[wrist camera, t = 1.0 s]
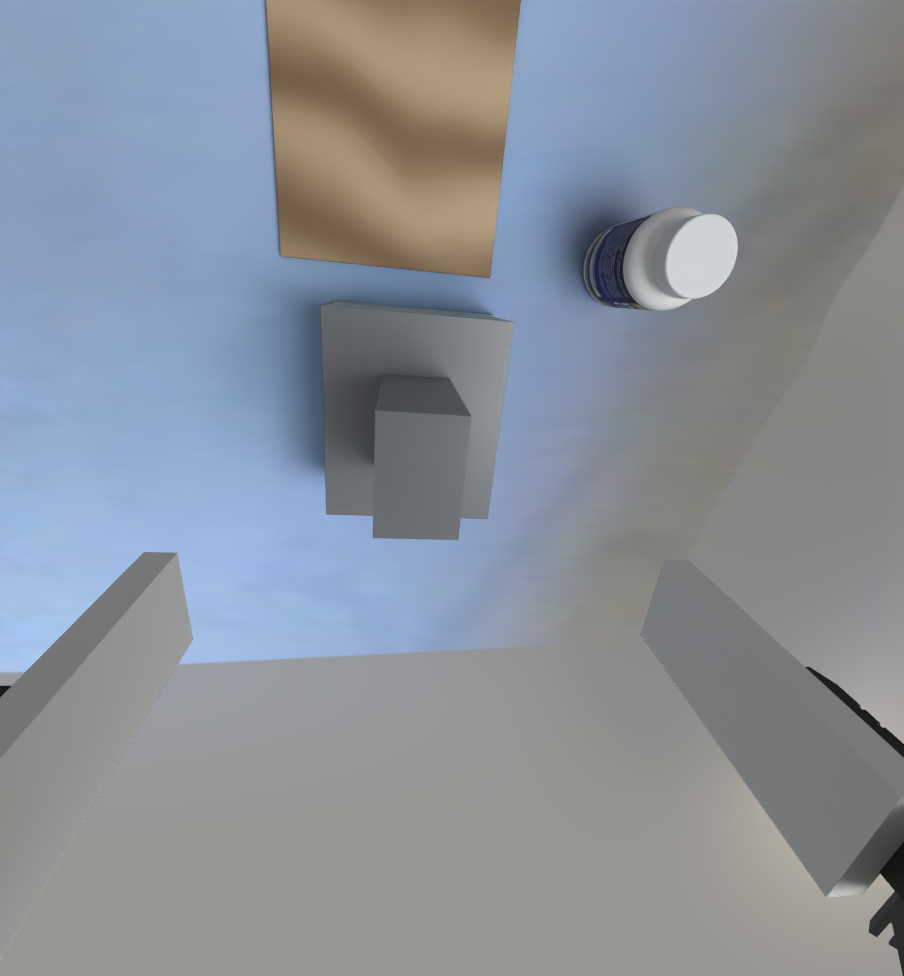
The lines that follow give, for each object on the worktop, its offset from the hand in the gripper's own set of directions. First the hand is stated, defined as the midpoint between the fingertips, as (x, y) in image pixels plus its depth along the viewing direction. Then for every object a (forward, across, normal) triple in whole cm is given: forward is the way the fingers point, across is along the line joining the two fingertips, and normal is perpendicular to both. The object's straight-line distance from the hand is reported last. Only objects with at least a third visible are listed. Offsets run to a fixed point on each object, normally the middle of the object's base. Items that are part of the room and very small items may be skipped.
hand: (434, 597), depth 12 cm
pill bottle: (+24, +14, +11) cm, 30 cm away
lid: (+18, 0, 0) cm, 18 cm away
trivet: (+24, -2, +17) cm, 30 cm away
